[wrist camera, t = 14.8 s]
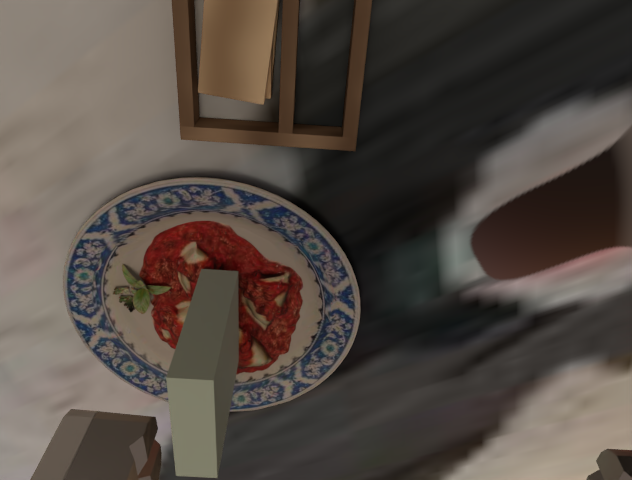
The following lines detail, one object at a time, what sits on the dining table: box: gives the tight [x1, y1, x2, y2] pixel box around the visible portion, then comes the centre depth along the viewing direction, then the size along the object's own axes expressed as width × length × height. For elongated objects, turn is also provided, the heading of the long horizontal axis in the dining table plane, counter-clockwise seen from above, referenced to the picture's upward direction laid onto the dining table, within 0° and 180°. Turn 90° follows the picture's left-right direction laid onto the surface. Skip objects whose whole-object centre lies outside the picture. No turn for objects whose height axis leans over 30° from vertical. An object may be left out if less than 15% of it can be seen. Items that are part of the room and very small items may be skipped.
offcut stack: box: [198, 0, 280, 105], centre depth 36 cm, size 5×12×4 cm, turn 173°
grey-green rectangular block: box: [166, 269, 239, 478], centre depth 43 cm, size 3×10×12 cm, turn 176°
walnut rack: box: [172, 0, 372, 151], centre depth 36 cm, size 13×18×2 cm
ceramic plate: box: [63, 177, 360, 411], centre depth 49 cm, size 26×26×3 cm
